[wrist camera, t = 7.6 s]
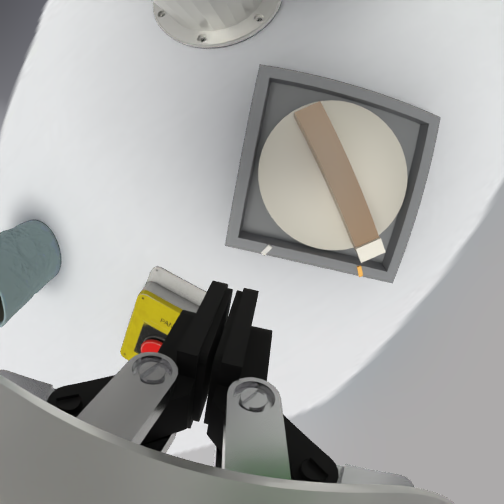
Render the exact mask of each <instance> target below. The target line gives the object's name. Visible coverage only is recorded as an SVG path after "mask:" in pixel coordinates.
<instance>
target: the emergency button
mask: <svg viewBox="0 0 504 504" xmlns="http://www.w3.org/2000/svg"><path fill="white" fill-rule="evenodd" d="M206 293H207V292H206V291H204V290H202V289H200V288H198V287H196V286H195V285H193V284H191V283H189V282H187V281H185V280H183V279H182V278H180V277H178V276H176V275H174V274H172V273H171V272H169V271H167V270H165V269H163V268H162V267H158V266H157V267H154V268H153V269H152V270H151V272H150V274H149V277H148V280H147V282H146V285H145V287H144V288H143V290H142V291H141V292H140V294H139V295H138V297H137V300H136V303H135V306H134V309H133V312H132V315H131V318H130V322H129V325H128V328H127V331H126V334H125V337H124V341H123V344H122V347H121V351H120V352H121V355H122V356H123V357H124V358H125V359H127V360H130V359H131V358H133V357H134V356H135V355H138V354H140V353H144V352H158V351H159V349H160V347H161V345H162V344H163V342H164V340H165V339H166V337H167V335H168V333H169V332H170V330H171V328H172V327H173V325H174V323H175V321H176V320H177V318H178V316H179V315H180V313H181V312H182V310H187V311H191V312H195V313H196V312H197V310H198V308H199V306H200V304H201V302H202V300H203V299H204V297H205V295H206Z"/></svg>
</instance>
